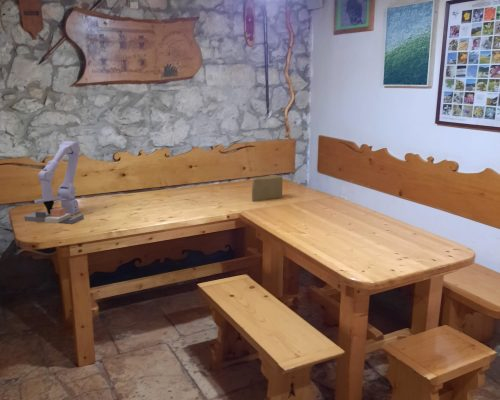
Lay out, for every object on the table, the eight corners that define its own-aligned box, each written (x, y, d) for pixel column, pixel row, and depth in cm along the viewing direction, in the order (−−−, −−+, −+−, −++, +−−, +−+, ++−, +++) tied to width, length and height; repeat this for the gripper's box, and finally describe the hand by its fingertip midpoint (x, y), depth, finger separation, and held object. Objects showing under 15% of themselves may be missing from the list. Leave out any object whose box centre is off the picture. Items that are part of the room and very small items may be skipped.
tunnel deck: (83, 218, 296) (82, 209, 294) (71, 224, 285) (70, 214, 284) (38, 215, 305) (36, 206, 303) (24, 220, 294) (23, 211, 293)
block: (65, 213, 297) (65, 207, 296) (60, 216, 291) (59, 210, 290) (56, 213, 298) (55, 207, 297) (51, 216, 292) (50, 209, 291)
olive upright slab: (257, 203, 325) (256, 180, 321) (248, 200, 332) (247, 178, 329) (283, 197, 338) (283, 175, 334) (273, 195, 345) (273, 173, 342)
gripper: (58, 188, 299) (60, 210, 302) (32, 191, 291) (35, 214, 294) (61, 190, 293) (63, 212, 296) (35, 193, 285) (38, 216, 288)
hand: (49, 213), depth 295 cm, fingers closed
